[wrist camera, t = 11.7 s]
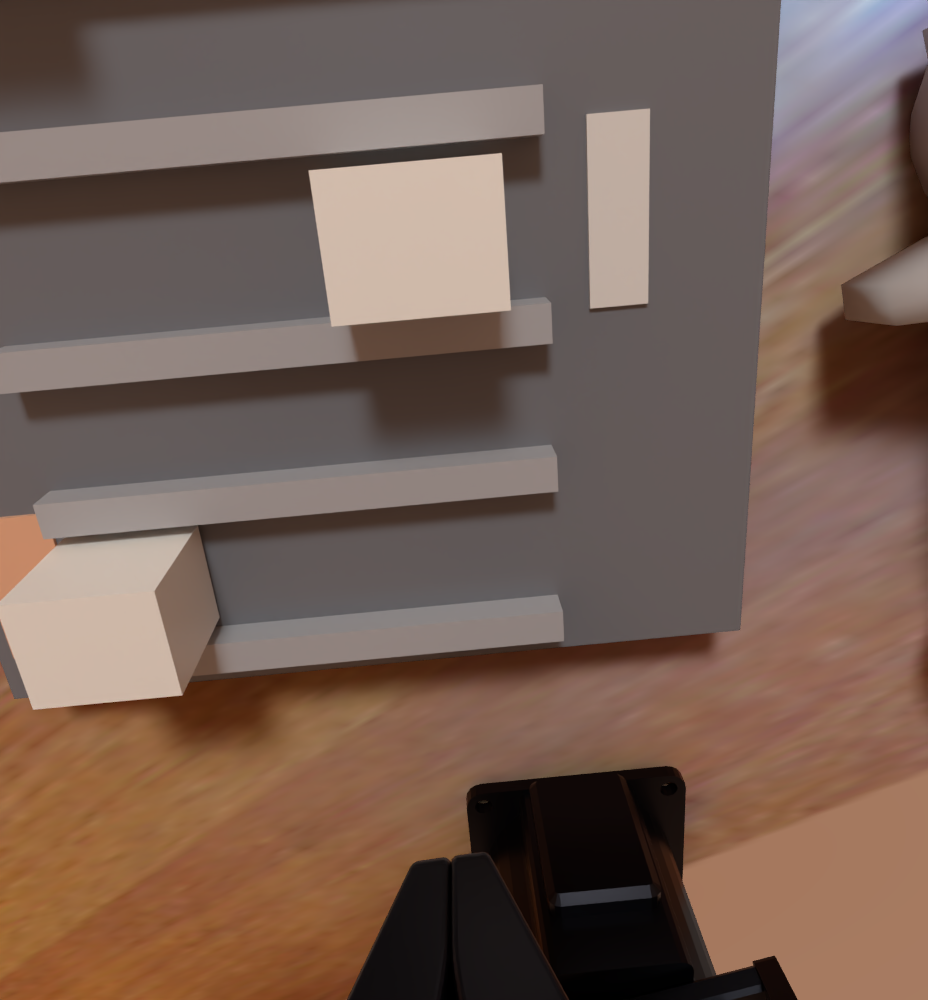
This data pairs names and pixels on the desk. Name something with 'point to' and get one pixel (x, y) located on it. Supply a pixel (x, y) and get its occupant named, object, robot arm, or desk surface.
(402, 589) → the switch panel
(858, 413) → the desk surface
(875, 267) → the bunny figurine
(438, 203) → the tab middle
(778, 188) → the desk surface
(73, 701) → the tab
